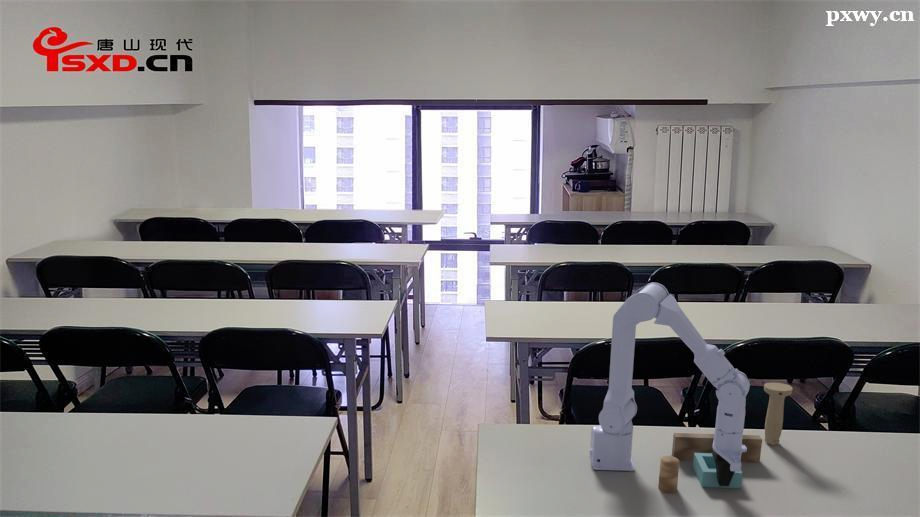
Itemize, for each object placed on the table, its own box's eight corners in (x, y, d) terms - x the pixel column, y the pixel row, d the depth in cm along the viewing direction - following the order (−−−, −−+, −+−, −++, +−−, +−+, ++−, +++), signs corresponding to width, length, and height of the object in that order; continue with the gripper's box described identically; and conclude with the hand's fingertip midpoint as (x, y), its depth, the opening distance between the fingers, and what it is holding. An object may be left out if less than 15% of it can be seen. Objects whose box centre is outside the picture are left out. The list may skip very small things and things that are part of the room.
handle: (787, 448, 197) (794, 391, 193) (760, 446, 198) (766, 390, 194) (782, 439, 202) (789, 383, 198) (755, 437, 202) (762, 381, 198)
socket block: (701, 486, 179) (703, 471, 178) (692, 467, 188) (694, 452, 187) (741, 488, 179) (742, 473, 178) (730, 468, 187) (731, 453, 186)
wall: (673, 460, 191) (675, 436, 190) (671, 455, 193) (673, 432, 191) (759, 462, 190) (762, 439, 189) (756, 458, 192) (759, 435, 191)
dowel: (660, 493, 177) (662, 464, 175) (656, 483, 181) (658, 455, 179) (678, 494, 177) (681, 465, 175) (674, 484, 181) (677, 456, 179)
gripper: (758, 444, 167) (751, 503, 170) (738, 413, 181) (732, 468, 184) (723, 443, 167) (717, 502, 171) (706, 412, 181) (701, 467, 185)
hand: (723, 484), depth 178 cm, fingers closed
